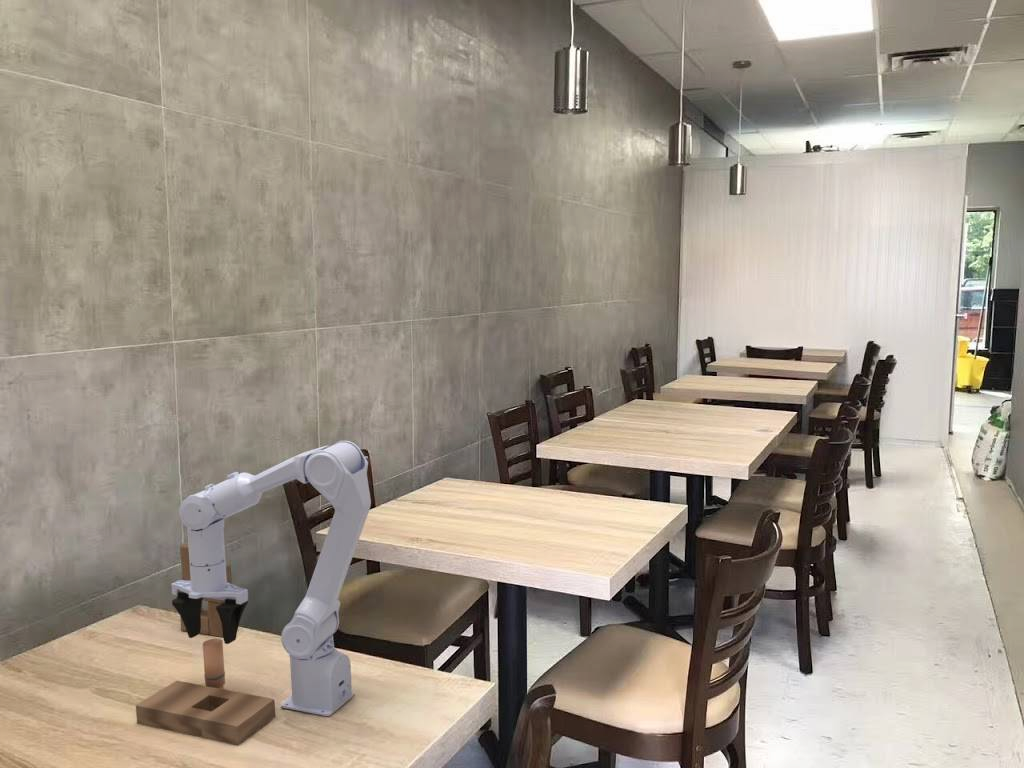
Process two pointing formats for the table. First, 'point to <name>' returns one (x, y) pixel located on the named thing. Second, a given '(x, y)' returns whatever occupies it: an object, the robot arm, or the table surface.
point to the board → (206, 712)
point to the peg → (214, 663)
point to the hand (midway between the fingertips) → (212, 638)
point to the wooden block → (211, 617)
